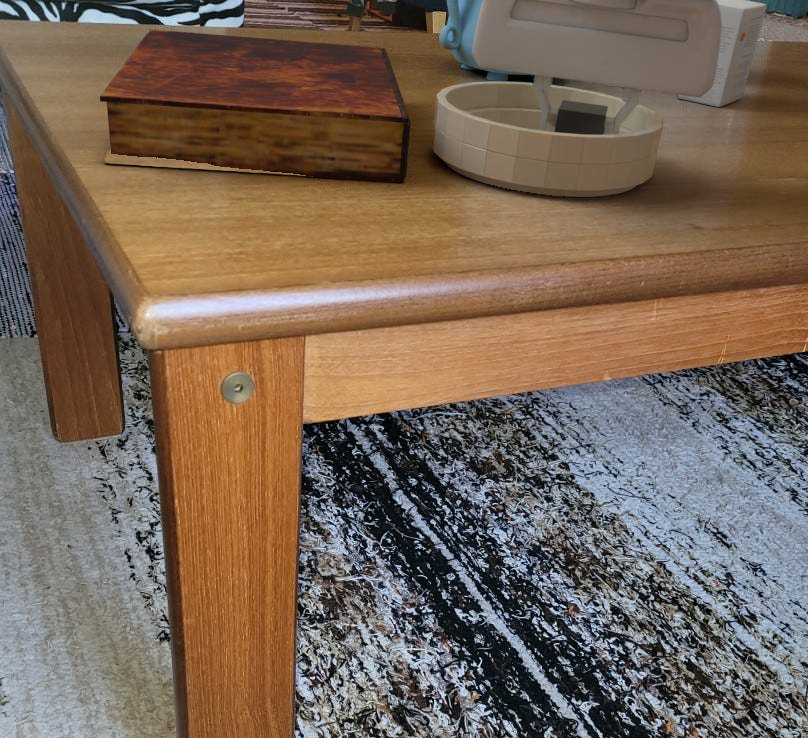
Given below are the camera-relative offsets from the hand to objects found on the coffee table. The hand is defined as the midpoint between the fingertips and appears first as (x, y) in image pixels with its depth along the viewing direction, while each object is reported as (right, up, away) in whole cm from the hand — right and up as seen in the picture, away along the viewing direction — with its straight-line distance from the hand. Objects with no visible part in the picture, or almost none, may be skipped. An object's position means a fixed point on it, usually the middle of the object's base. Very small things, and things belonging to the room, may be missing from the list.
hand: (578, 136), depth 86 cm
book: (-28, +3, +5) cm, 29 cm away
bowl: (-3, -2, +2) cm, 4 cm away
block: (0, -1, +1) cm, 2 cm away
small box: (+22, +18, +34) cm, 44 cm away
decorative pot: (-3, +23, +36) cm, 43 cm away
